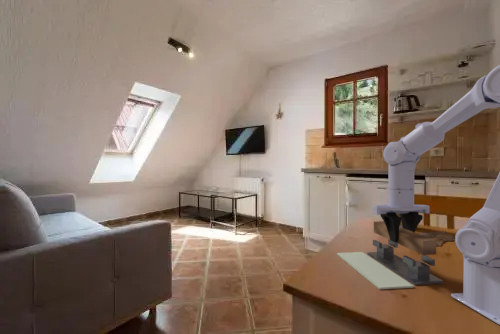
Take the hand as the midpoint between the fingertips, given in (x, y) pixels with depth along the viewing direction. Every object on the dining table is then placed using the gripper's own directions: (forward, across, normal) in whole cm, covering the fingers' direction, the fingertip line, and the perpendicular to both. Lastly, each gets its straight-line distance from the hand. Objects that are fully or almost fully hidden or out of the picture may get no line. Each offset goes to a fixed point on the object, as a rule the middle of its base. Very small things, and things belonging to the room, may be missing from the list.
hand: (400, 241), depth 63 cm
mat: (+7, +8, 0) cm, 11 cm away
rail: (0, 0, 0) cm, 0 cm away
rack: (+7, 0, 0) cm, 7 cm away
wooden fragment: (+7, -30, -22) cm, 38 cm away
